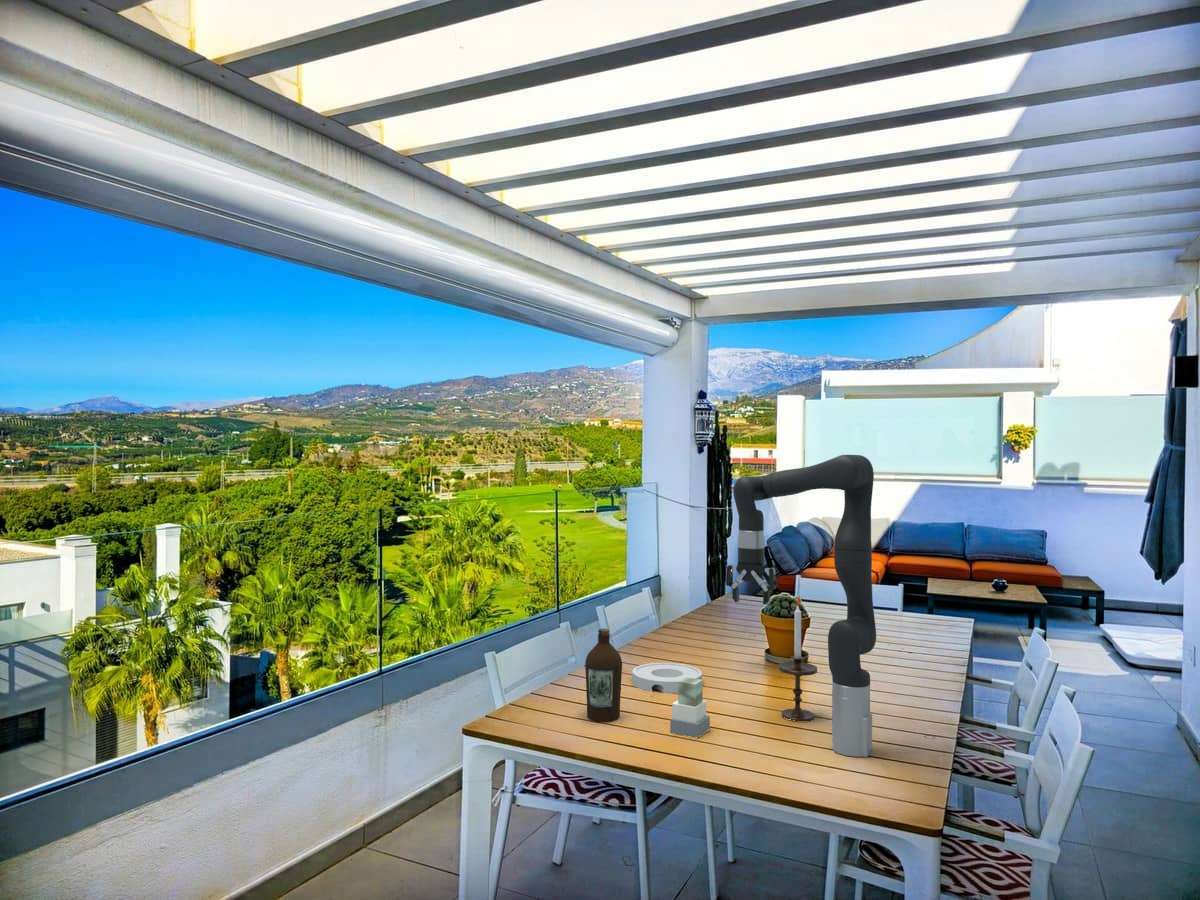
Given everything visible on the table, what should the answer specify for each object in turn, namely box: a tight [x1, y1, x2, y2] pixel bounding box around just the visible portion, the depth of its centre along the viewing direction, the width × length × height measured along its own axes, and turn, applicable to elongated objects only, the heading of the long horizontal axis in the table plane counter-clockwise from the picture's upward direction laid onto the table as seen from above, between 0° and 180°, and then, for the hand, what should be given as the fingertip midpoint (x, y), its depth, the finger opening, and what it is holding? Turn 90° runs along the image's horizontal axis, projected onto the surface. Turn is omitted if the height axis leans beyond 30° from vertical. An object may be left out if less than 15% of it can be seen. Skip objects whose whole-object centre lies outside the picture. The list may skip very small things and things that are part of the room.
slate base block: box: [669, 715, 711, 739], centre depth 211 cm, size 8×8×4 cm
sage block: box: [677, 677, 704, 707], centre depth 211 cm, size 5×5×6 cm
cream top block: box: [671, 699, 707, 723], centre depth 211 cm, size 7×7×4 cm
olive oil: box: [584, 628, 623, 723], centre depth 222 cm, size 11×11×25 cm
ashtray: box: [631, 662, 703, 694], centre depth 257 cm, size 23×23×4 cm
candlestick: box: [777, 594, 818, 722], centre depth 223 cm, size 11×11×35 cm
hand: (750, 602), depth 221 cm, fingers open, 8 cm apart
